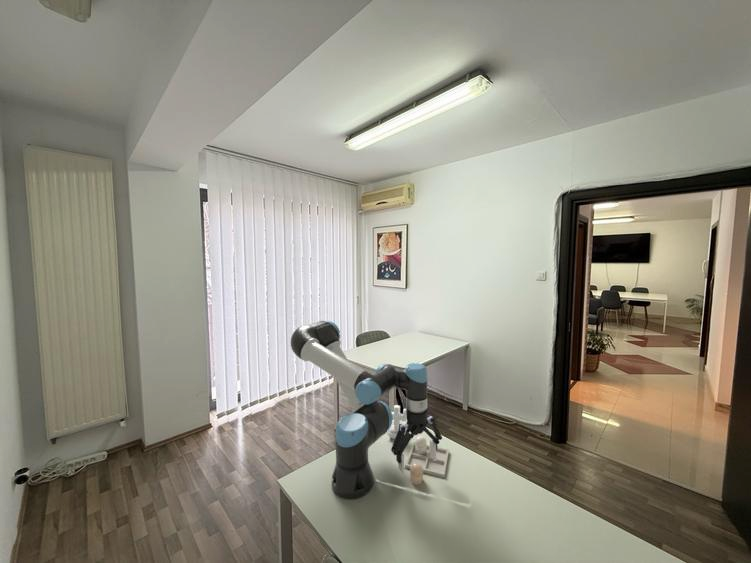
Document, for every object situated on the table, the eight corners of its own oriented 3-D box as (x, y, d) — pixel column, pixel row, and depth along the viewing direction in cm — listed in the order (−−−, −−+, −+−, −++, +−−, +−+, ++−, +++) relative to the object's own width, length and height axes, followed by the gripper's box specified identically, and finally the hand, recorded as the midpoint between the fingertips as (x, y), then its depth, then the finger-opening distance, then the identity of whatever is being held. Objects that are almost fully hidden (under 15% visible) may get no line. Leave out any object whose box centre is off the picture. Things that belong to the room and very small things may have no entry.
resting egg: (414, 454, 121) (414, 439, 120) (416, 447, 125) (416, 432, 124) (425, 457, 119) (425, 441, 118) (427, 450, 123) (427, 434, 123)
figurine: (390, 431, 138) (389, 400, 137) (409, 435, 135) (409, 404, 133) (384, 439, 132) (384, 407, 131) (404, 444, 128) (404, 412, 127)
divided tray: (404, 469, 113) (404, 465, 113) (413, 446, 127) (413, 441, 127) (444, 479, 108) (444, 474, 108) (448, 454, 122) (448, 449, 122)
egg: (408, 485, 106) (408, 467, 105) (411, 476, 110) (411, 459, 109) (421, 488, 104) (421, 470, 103) (423, 479, 108) (424, 461, 108)
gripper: (390, 421, 96) (392, 483, 98) (451, 404, 106) (451, 460, 108) (380, 411, 103) (382, 468, 104) (438, 396, 113) (439, 448, 115)
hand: (417, 464), depth 106 cm, fingers open, 13 cm apart
